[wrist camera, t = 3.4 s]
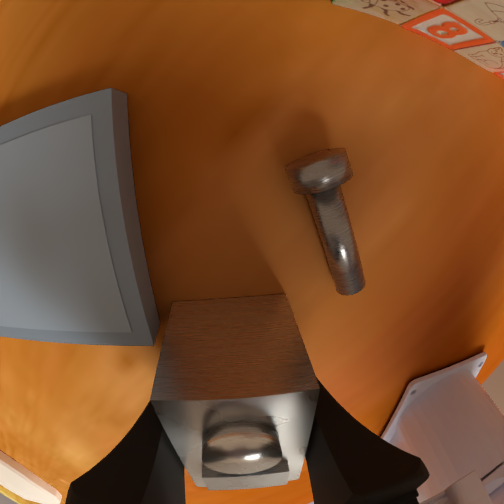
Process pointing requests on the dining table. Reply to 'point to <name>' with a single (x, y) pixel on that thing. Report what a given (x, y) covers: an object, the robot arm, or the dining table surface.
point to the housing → (236, 391)
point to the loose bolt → (330, 212)
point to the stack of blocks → (448, 25)
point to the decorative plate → (26, 482)
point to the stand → (73, 227)
